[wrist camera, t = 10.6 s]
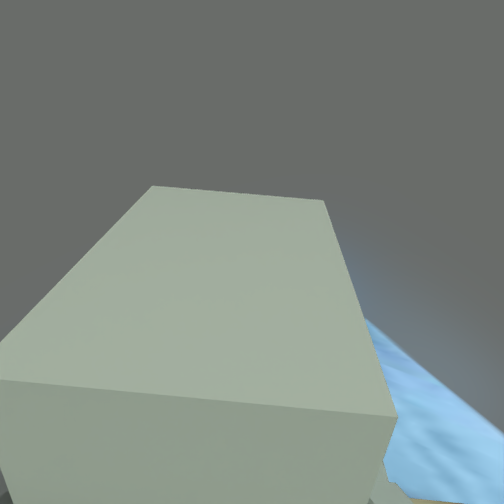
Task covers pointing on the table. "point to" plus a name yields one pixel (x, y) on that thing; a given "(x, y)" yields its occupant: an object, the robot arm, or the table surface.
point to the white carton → (198, 364)
